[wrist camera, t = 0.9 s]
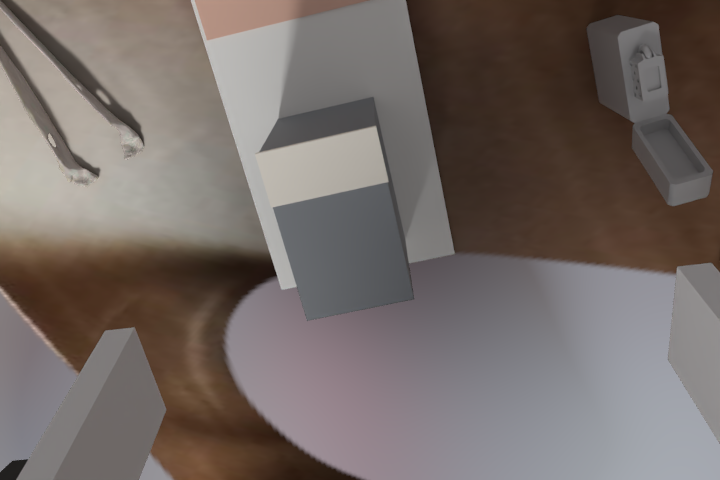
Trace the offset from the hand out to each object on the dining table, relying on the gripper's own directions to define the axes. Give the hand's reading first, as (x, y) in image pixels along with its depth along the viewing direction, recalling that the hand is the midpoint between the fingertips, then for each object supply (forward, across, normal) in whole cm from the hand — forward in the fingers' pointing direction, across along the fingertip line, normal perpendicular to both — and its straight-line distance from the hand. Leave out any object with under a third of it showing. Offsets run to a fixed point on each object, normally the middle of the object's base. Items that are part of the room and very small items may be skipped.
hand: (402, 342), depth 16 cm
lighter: (+20, -12, +1) cm, 23 cm away
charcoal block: (+19, +3, +4) cm, 19 cm away
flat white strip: (+20, +3, -2) cm, 20 cm away
